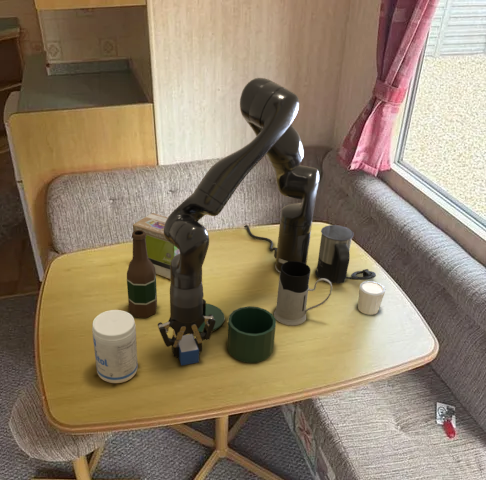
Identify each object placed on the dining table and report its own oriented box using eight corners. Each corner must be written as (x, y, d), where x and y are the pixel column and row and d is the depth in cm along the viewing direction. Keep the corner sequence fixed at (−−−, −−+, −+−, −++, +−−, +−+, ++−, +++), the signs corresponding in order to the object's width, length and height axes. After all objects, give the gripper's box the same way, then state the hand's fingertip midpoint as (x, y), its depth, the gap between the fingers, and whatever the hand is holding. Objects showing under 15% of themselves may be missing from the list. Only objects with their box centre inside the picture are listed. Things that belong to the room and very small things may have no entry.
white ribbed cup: (381, 317, 149) (386, 296, 146) (355, 314, 150) (359, 293, 147) (380, 303, 155) (384, 282, 151) (355, 299, 156) (359, 279, 152)
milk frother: (309, 270, 169) (314, 227, 160) (352, 260, 174) (359, 218, 166) (335, 295, 158) (343, 251, 150) (380, 284, 163) (390, 240, 155)
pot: (221, 336, 141) (222, 310, 137) (263, 329, 144) (265, 303, 140) (235, 366, 132) (237, 338, 128) (279, 358, 135) (283, 331, 130)
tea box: (193, 267, 169) (193, 224, 161) (174, 282, 162) (173, 238, 154) (154, 252, 176) (152, 210, 168) (134, 266, 169) (131, 223, 160)
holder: (278, 302, 154) (283, 256, 146) (329, 314, 150) (337, 268, 142) (269, 320, 147) (274, 273, 139) (322, 333, 143) (330, 285, 135)
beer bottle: (162, 306, 152) (160, 229, 139) (148, 321, 146) (144, 243, 133) (138, 298, 155) (133, 222, 142) (123, 314, 149) (116, 235, 136)
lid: (173, 310, 151) (172, 291, 147) (216, 303, 154) (217, 285, 150) (184, 338, 141) (183, 319, 137) (230, 330, 144) (231, 311, 140)
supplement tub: (88, 371, 130) (81, 322, 122) (119, 351, 136) (114, 303, 128) (116, 391, 125) (111, 341, 117) (146, 369, 131) (143, 320, 123)
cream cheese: (175, 349, 137) (175, 336, 135) (192, 346, 138) (192, 333, 136) (181, 365, 132) (181, 352, 130) (199, 362, 133) (199, 349, 131)
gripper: (212, 284, 130) (210, 340, 140) (152, 292, 127) (155, 349, 136) (221, 302, 124) (219, 359, 134) (158, 311, 121) (161, 369, 130)
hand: (186, 354), depth 135 cm, fingers closed on cream cheese, 4 cm apart
